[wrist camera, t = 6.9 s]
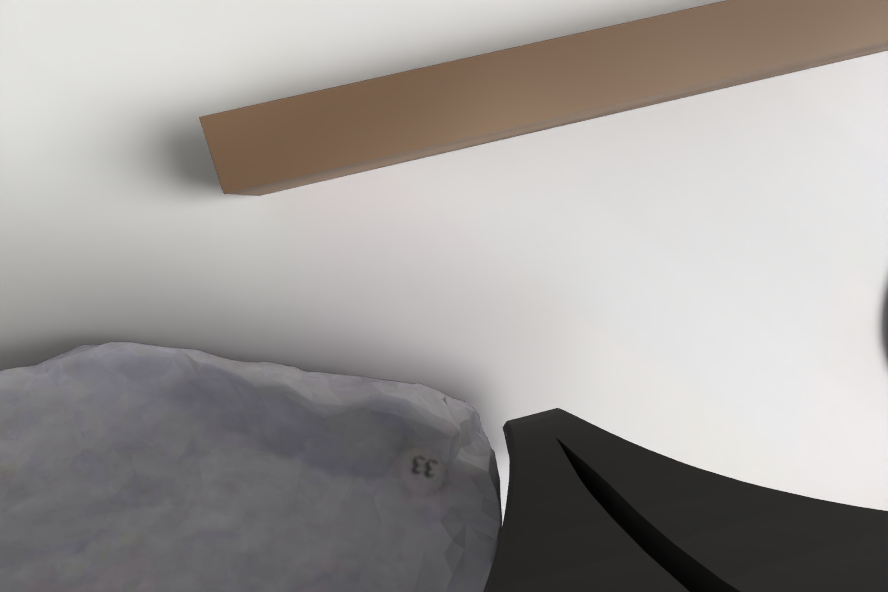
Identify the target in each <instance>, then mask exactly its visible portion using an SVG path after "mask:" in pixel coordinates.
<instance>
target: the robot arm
mask: <svg viewBox="0 0 888 592" xmlns="http://www.w3.org/2000/svg"><path fill="white" fill-rule="evenodd" d="M503 431H504V435H505V440H506V444H507V449H508V454H509V458H510V466H509V485H508V494H507V502H506V510H505V515H504V521H503V525H502V530H501V534H500V538H499V543H498V546H497V550H496V553H495V557H494V560H493V563H492V567H491V570H490V573H489V576H488V579H487V582H486V585H485V588H484V590H483V592H888V511H883V510H876V509H870V508H863V507H857V506H852V505H846V504H841V503H835V502H830V501H825V500H820V499H815V498H810V497H806V496H801V495H797V494H792V493H788V492H783V491H779V490H775V489H770V488H766V487H762V486H758V485H754V484H750V483H746V482H743V481H739V480H736V479H732V478H729V477H726V476H722V475H719V474H716V473H713V472H709V471H706V470H703V469H699V468H696V467H693V466H691V465H688V464H685V463H682V462H679V461H676V460H674V459H671V458H669V457H666V456H663V455H661V454H658V453H656V452H653V451H651V450H648V449H646V448H643V447H641V446H639V445H636V444H634V443H632V442H629V441H627V440H625V439H623V438H620V437H618V436H616V435H614V434H612V433H609V432H607V431H605V430H603V429H601V428H599V427H597V426H595V425H593V424H591V423H589V422H587V421H585V420H583V419H581V418H579V417H577V416H575V415H572V414H570V413H568V412H566V411H564V410H562V409H559V408H556V409H552V410H548V411H544V412H540V413H536V414H533V415H529V416H525V417H521V418H517V419H513V420H509V421H507V422H506V423H505V425H504V426H503Z"/></svg>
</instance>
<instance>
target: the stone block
mask: <svg viewBox="0 0 888 592" xmlns="http://www.w3.org/2000/svg"><path fill="white" fill-rule="evenodd" d="M501 530H502V512H501V498H500V478H499V473H498V468H497V463H496V458H495V453H494V450H493V449H492V448H491V446H490V444H489V441H488V439H487V437H486V435H485V434H484V431H483V429H482V427H481V423H480V418H479V415H478V413H477V411H476V410H475V409H474V408H472V407H471V406H470V405H468V404H467V403H466V402H465V401H461V400H456V399H454V398H452V397H450V396H448V395H446V394H444V393H442V392H440V391H438V390H435V389H433V388H430V387H427V386H425V385H422V384H419V383H414V384H409V383H403V382H397V381H391V380H381V379H373V378H368V377H364V376H346V375H338V374H330V373H323V372H306V371H303V370H301V369H299V368H297V367H295V366H285V365H282V364H277V363H270V362H257V363H252V362H242V361H235V360H230V359H226V358H221V357H218V356H215V355H211V354H208V353H205V352H203V351H200V350H197V349H182V348H170V347H158V346H155V345H145V344H139V343H133V342H110V343H105V344H101V345H98V346H96V345H81V346H79V347H76V348H74V349H72V350H69V351H67V352H64V353H62V354H59V355H57V356H55V357H52V358H50V359H48V360H46V361H44V362H42V363H40V364H37V365H34V366H26V367H17V368H11V369H6V370H0V592H483V590H484V588H485V585H486V582H487V579H488V576H489V573H490V570H491V567H492V563H493V560H494V557H495V553H496V550H497V546H498V543H499V538H500V534H501Z"/></svg>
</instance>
